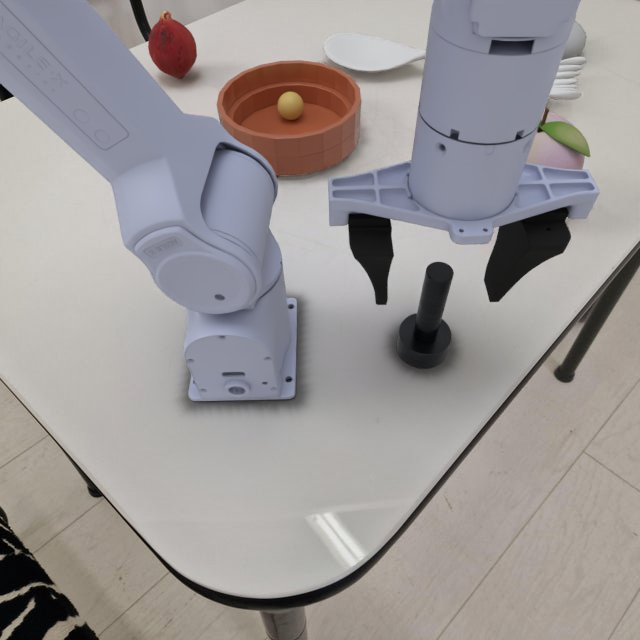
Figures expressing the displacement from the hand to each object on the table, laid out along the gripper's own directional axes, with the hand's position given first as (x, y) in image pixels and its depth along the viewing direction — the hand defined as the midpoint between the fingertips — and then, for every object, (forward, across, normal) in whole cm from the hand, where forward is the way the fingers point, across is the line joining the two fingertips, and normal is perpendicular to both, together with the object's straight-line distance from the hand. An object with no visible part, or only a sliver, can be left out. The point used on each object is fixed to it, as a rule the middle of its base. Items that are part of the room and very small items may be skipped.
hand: (435, 292), depth 35 cm
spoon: (+7, +8, +41) cm, 42 cm away
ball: (+5, -11, +32) cm, 34 cm away
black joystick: (+7, 0, 0) cm, 7 cm away
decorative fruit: (+7, +11, +17) cm, 22 cm away
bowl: (+7, -11, +29) cm, 32 cm away
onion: (+7, -26, +43) cm, 51 cm away
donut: (+7, +22, +47) cm, 52 cm away
